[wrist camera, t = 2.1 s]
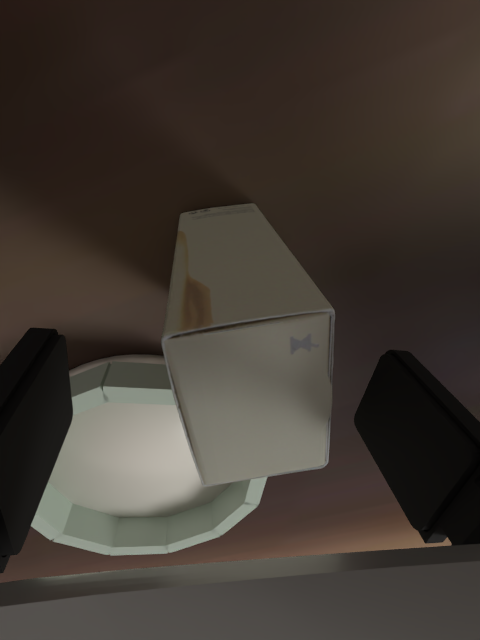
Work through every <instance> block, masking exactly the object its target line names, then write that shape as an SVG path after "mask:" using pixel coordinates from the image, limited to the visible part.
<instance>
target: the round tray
mask: <svg viewBox="0 0 480 640" xmlns="http://www.w3.org/2000/svg"><path fill="white" fill-rule="evenodd" d="M69 377H70V386H71V395H72V405H73V418H72V422H71V425H70V428H69V430H68V433H67V435H66V438H65V440H64V443H63V445H62V448H61V450H60V453H59V456H58V458H57V461H56V463H55V466H54V468H53V471H52V473H51V476H50V478H49V481H48V483H47V486H46V488H45V491H44V493H43V496H42V499H41V501H40V504H39V506H38V509H37V511H36V514H35V516H34V519H33V521H32V524H31V526H32V527H33V528H34V529H36V530H37V531H39V532H40V533H41V534H43V535H44V536H45V537H47V538H48V539H49V540H52V539H53V541H54V542H58V543H62V544H66V545H70V546H74V547H78V548H81V549H85V550H89V551H93V552H97V553H101V554H105V555H109V554H110V555H138V554H165V553H167V552H169V553H171V552H174V551H177V550H180V549H183V548H187V547H190V546H193V545H196V544H199V543H202V542H205V541H208V540H211V539H214V538H217V537H220V535H223V534H224V533H226V532H227V531H228V530H229V529H230V528H232V527H233V526H234V525H235V524H237V523H238V522H239V521H240V520H241V519H243V518H244V517H245V516H246V515H248V514H249V513H250V512H251V511H252V510H254V509H255V508H256V507H257V505H259V502H260V499H261V496H262V493H263V489H264V486H265V483H266V480H267V477H263V478H258V479H250V480H244V481H238V482H231V483H224V484H219V485H214V486H207V487H205V486H203V485H202V483H201V480H200V477H199V474H198V472H197V469H196V466H195V463H194V460H193V458H192V455H191V452H190V449H189V446H188V443H187V440H186V436H185V433H184V430H183V427H182V423H181V420H180V417H179V413H178V410H177V407H176V403H175V400H174V397H173V393H172V389H171V385H170V381H169V377H168V373H167V368H166V364H165V359H164V356H160V355H148V354H131V355H120V356H113V357H108V358H103V359H98V360H95V361H92V362H89V363H86V364H82V365H80V366H78V367H76V368H74V369H71V370H69Z"/></svg>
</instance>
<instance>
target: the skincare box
mask: <svg viewBox="0 0 480 640" xmlns="http://www.w3.org/2000/svg"><path fill="white" fill-rule="evenodd" d="M334 322H335V310H334V309H333V307H332V306H331V305H330V303H329V302H328V301H327V299H326V298H325V297H324V295H323V294H322V293H321V292H320V290H319V289H318V287H317V286H316V285H315V283H314V282H313V281H312V279H311V278H310V277H309V275H308V274H307V273H306V271H305V270H304V268H303V267H302V266H301V265H300V263H299V262H298V261H297V259H296V258H295V256H294V255H293V254H292V253H291V251H290V250H289V249H288V247H287V246H286V245H285V243H284V242H283V241H282V239H281V238H280V237H279V235H278V234H277V233H276V231H275V230H274V228H273V227H272V226H271V225H270V223H269V222H268V221H267V219H266V218H265V217H264V215H263V214H262V212H261V211H260V210H259V209H258V207H257V206H256V204H254V203H251V204H241V205H232V206H223V207H215V208H208V209H201V210H195V211H190V212H185V213H181V214H180V218H179V226H178V233H177V240H176V246H175V254H174V261H173V268H172V274H171V282H170V289H169V295H168V302H167V308H166V315H165V322H164V328H163V333H162V339H161V345H162V349H163V354H164V359H165V364H166V368H167V373H168V377H169V381H170V385H171V389H172V393H173V397H174V400H175V403H176V407H177V410H178V413H179V417H180V420H181V423H182V427H183V430H184V433H185V436H186V440H187V443H188V446H189V449H190V452H191V455H192V458H193V460H194V463H195V466H196V469H197V472H198V474H199V477H200V480H201V483H202V485H203V486H205V487H207V486H214V485H219V484H224V483H231V482H238V481H244V480H250V479H258V478H263V477H269V476H275V475H283V474H288V473H295V472H301V471H307V470H313V469H320V468H323V467H325V466H326V465H327V464H328V461H329V459H328V458H329V442H330V420H331V410H332V372H333V349H334Z"/></svg>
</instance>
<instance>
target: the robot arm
mask: <svg viewBox="0 0 480 640" xmlns="http://www.w3.org/2000/svg"><path fill="white" fill-rule="evenodd" d="M72 418H73V405H72V395H71V386H70V377H69V367H68V358H67V348H66V340H65V336H64V335H58V332H57V330H56V329H45V328H30V329H29V330H28V331H27V332H26V334H25V335H24V336H23V337H22V339H21V340H20V341H19V342H18V344H17V345H16V346H15V347H14V349H13V350H12V351H11V352H10V354H9V355H8V356H7V357H6V359H5V360H4V361H3V363H2V364H1V365H0V573H3V572H4V570H5V567H6V565H7V562H8V560H9V558H10V555H17V554H18V553H19V552H20V550H21V549H22V546H23V544H24V542H25V539H26V537H27V534H28V531H29V529H30V526H31V524H32V521H33V519H34V516H35V514H36V511H37V509H38V506H39V504H40V501H41V499H42V496H43V493H44V491H45V488H46V486H47V483H48V481H49V478H50V476H51V473H52V471H53V468H54V466H55V463H56V461H57V458H58V456H59V453H60V450H61V448H62V445H63V443H64V440H65V438H66V435H67V433H68V430H69V428H70V425H71V422H72ZM354 423H355V426H356V428H357V430H358V432H359V434H360V435H361V437H362V439H363V441H364V442H365V444H366V446H367V448H368V450H369V451H370V453H371V455H372V457H373V458H374V460H375V462H376V464H377V465H378V467H379V469H380V471H381V472H382V474H383V476H384V478H385V480H386V481H387V483H388V485H389V487H390V488H391V490H392V492H393V494H394V495H395V497H396V499H397V501H398V502H399V504H400V506H401V508H402V510H403V511H404V513H405V515H406V517H407V518H408V520H409V522H410V524H411V525H412V526H413V528H415V529H416V530H418V532H419V533H420V535H421V537H422V539H423V540H424V542H425V543H439V542H443V541H444V540H445V539H446V538H447V537H448V538H449V540H450V542H451V543H452V545H451V546H440V547H424V548H409V549H394V550H380V551H366V552H352V553H338V554H324V555H310V556H296V557H283V558H269V559H255V560H242V561H230V562H217V563H204V564H191V565H178V566H166V567H153V568H140V569H127V570H116V571H106V572H96V573H85V574H75V575H64V576H54V577H44V578H33V579H26V580H19V581H12V582H5V583H0V640H480V422H479V421H478V420H477V419H476V418H475V417H474V416H473V415H472V414H471V413H470V412H469V411H468V410H467V409H466V408H465V407H464V406H463V405H462V404H461V403H460V402H459V401H458V400H457V399H456V398H455V397H454V396H453V395H452V394H451V393H450V392H449V391H448V390H447V389H446V388H445V387H444V386H443V385H442V384H441V383H440V382H439V381H438V380H437V379H436V378H435V377H434V376H433V375H432V374H431V373H430V372H429V371H428V370H427V369H426V368H425V367H424V366H423V365H422V364H421V363H420V362H419V361H418V360H417V359H416V358H415V357H414V356H413V355H412V354H411V353H410V352H408V351H399V350H389V351H387V352H386V353H385V354H384V355H382V356H381V357H380V359H379V362H378V364H377V366H376V368H375V371H374V373H373V375H372V377H371V380H370V382H369V384H368V386H367V389H366V391H365V393H364V395H363V398H362V400H361V402H360V404H359V407H358V409H357V411H356V413H355V416H354Z"/></svg>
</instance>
